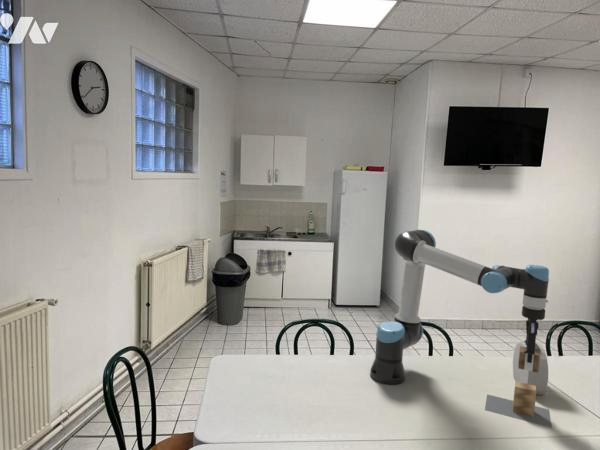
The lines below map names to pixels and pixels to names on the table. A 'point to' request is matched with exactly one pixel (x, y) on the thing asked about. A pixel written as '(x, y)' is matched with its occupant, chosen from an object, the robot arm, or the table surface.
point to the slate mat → (506, 409)
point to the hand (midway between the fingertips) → (528, 366)
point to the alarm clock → (529, 376)
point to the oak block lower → (523, 407)
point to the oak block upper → (525, 392)
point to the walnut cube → (522, 359)
